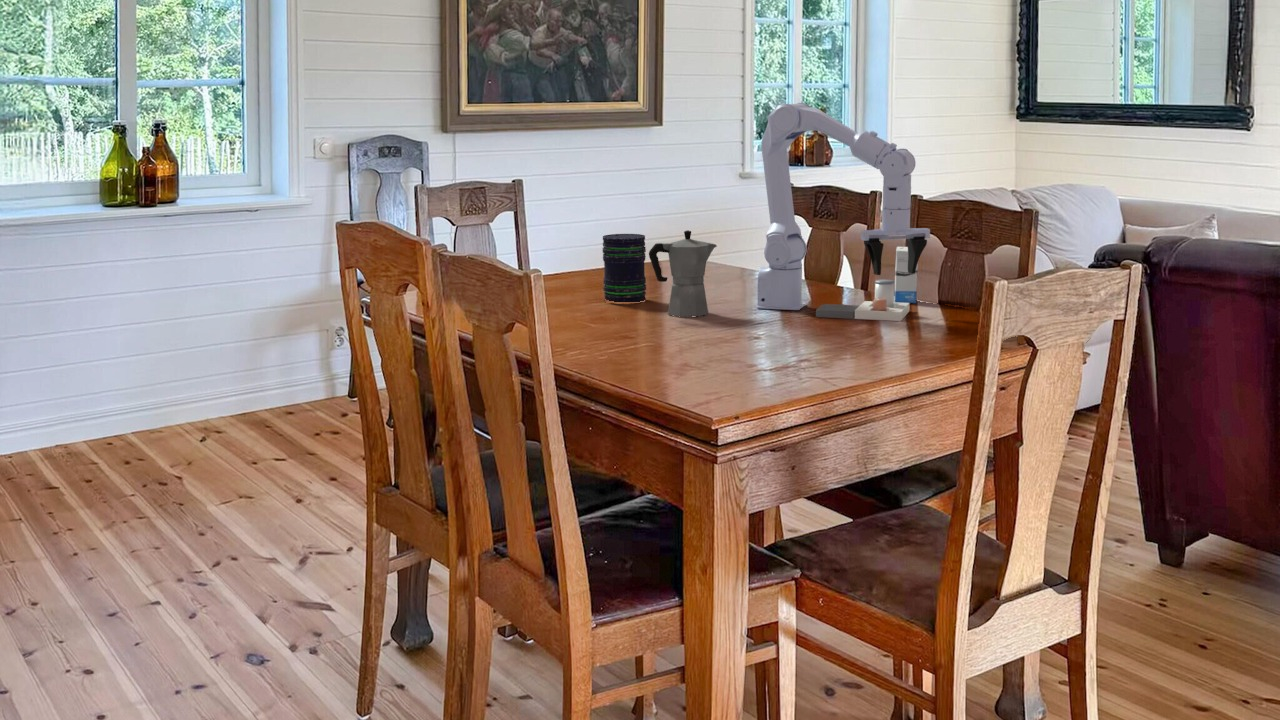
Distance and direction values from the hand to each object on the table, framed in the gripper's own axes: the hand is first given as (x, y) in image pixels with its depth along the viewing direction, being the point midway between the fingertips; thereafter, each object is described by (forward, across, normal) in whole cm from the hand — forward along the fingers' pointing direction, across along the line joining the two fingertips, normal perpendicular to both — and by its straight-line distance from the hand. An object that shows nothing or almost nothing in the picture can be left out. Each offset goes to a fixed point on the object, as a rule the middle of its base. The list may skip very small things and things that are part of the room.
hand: (894, 273), depth 267 cm
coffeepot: (+9, -42, +15) cm, 45 cm away
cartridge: (+9, -1, +3) cm, 10 cm away
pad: (+9, -10, +5) cm, 15 cm away
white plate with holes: (+9, -2, +2) cm, 9 cm away
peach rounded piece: (+9, -4, -1) cm, 10 cm away
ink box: (+9, +10, +18) cm, 22 cm away
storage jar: (+9, -51, +35) cm, 62 cm away
